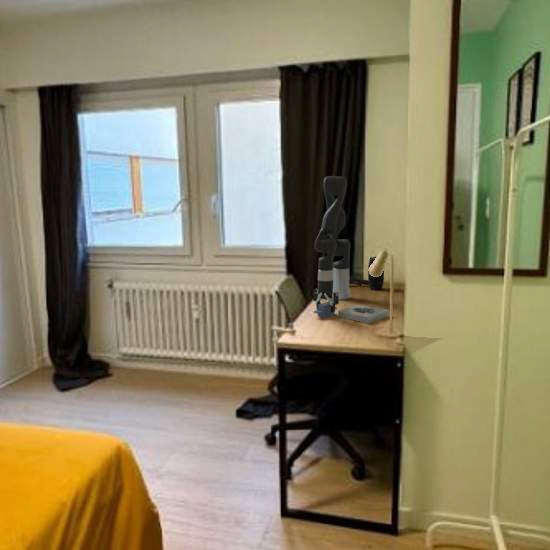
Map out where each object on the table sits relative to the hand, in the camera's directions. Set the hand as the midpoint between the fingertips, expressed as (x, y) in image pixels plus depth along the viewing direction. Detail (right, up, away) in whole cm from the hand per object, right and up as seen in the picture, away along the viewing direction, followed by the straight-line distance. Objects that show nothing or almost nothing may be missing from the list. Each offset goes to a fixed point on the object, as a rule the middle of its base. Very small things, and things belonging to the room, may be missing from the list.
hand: (325, 311), depth 246 cm
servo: (0, -2, +1) cm, 2 cm away
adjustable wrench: (+27, +10, +68) cm, 73 cm away
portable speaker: (+36, +9, +58) cm, 69 cm away
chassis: (+18, -2, -2) cm, 19 cm away
